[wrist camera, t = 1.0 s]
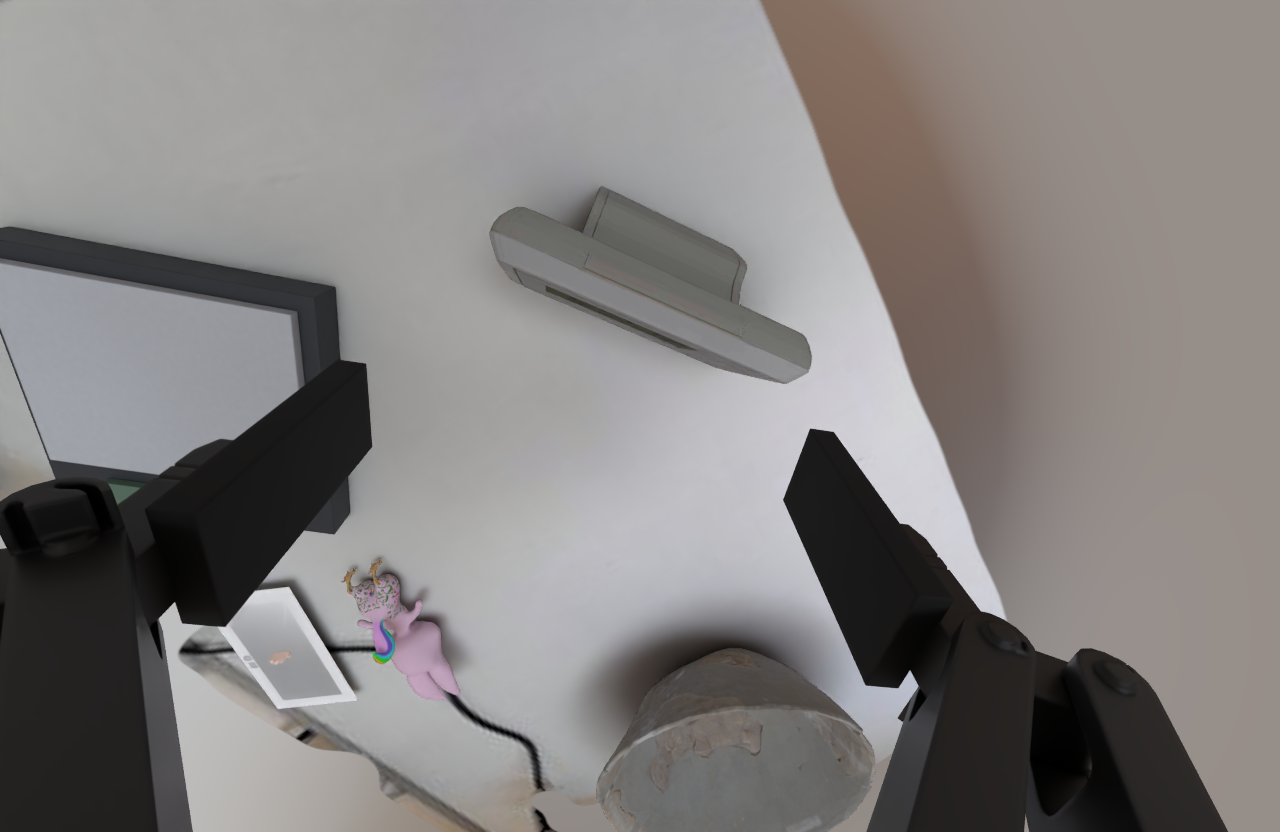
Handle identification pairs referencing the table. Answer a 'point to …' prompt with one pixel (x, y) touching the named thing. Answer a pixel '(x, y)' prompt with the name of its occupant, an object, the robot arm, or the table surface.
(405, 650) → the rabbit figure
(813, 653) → the table surface
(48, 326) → the scale
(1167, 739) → the robot arm
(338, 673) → the touchpad
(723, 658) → the ceramic bowl
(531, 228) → the digital clock
